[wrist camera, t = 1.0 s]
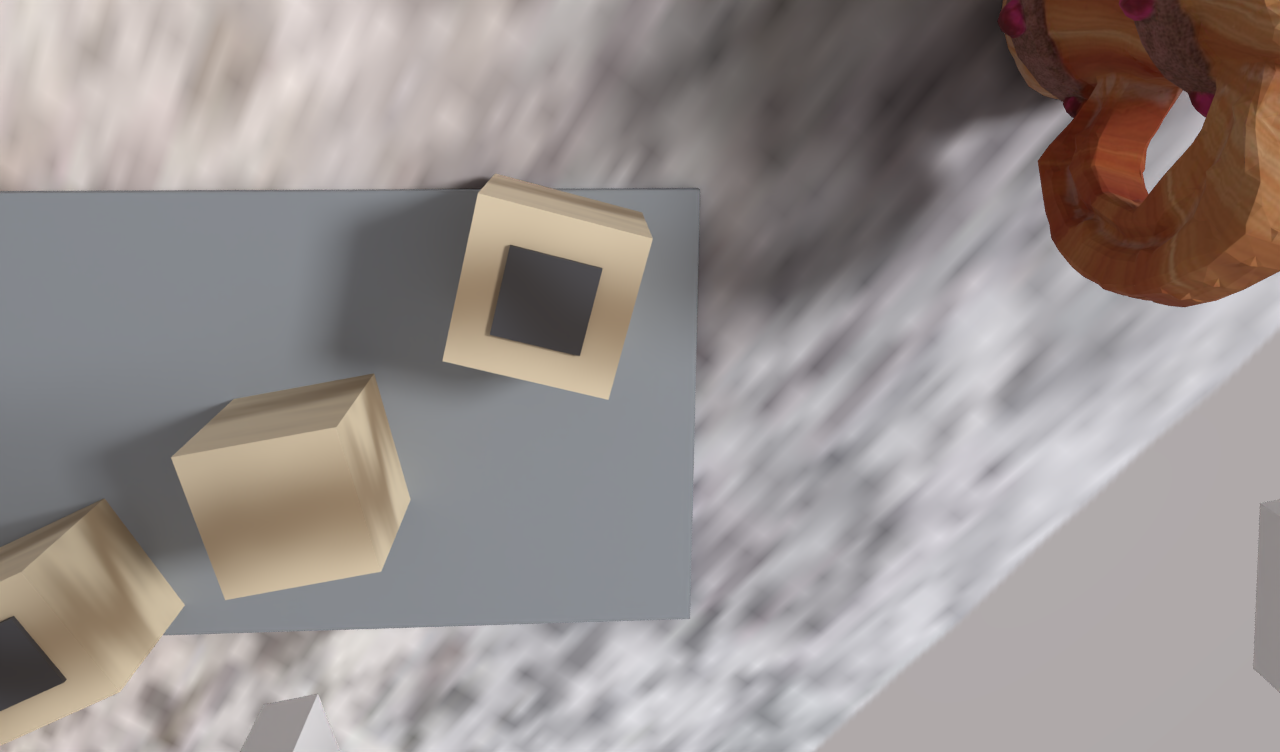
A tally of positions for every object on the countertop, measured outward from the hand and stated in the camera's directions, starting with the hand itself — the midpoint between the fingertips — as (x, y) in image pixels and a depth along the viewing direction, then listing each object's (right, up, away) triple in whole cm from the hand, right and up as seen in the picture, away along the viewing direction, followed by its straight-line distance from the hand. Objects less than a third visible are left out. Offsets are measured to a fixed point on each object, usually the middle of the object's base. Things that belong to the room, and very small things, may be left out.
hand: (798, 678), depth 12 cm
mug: (+14, +17, +23) cm, 32 cm away
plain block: (-16, +1, +26) cm, 30 cm away
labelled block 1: (-27, -5, +27) cm, 39 cm away
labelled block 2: (-6, +9, +24) cm, 26 cm away
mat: (-16, +2, +26) cm, 31 cm away
